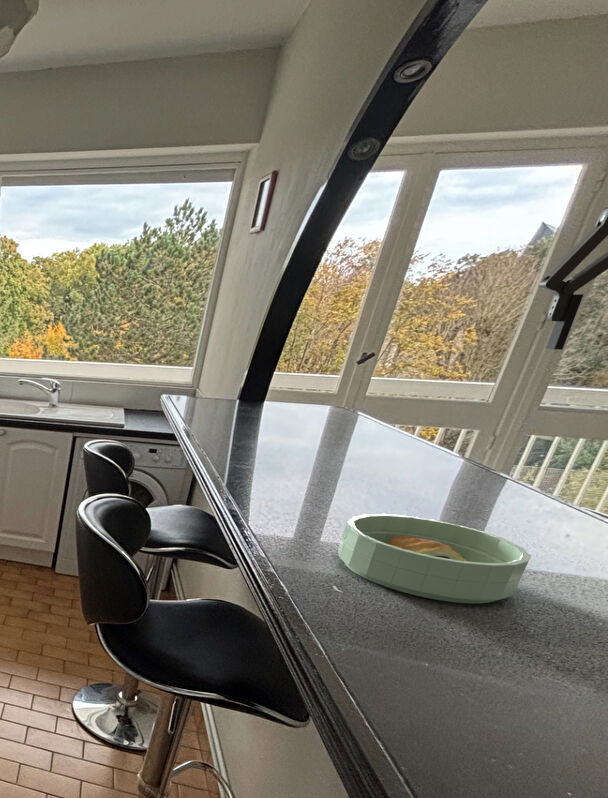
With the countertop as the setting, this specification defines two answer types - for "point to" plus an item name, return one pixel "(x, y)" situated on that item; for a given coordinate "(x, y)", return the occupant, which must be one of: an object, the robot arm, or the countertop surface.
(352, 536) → the bowl
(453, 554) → the pastry
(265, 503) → the countertop surface
